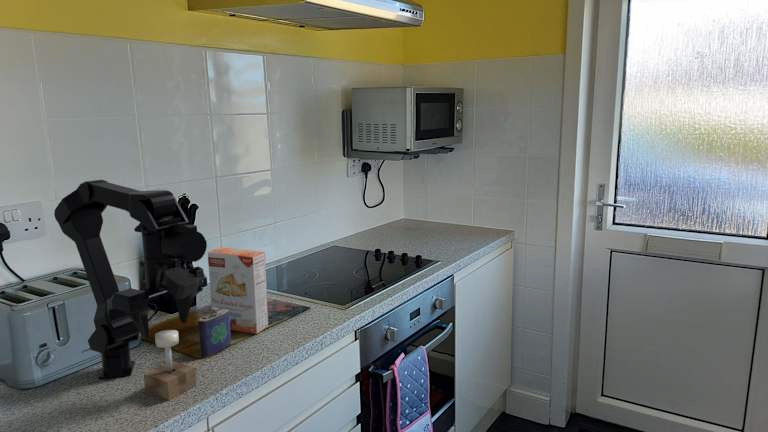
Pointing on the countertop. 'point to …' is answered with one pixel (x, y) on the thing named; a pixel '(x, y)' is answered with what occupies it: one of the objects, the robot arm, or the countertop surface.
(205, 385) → the countertop surface
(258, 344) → the countertop surface
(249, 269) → the cracker box
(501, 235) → the countertop surface
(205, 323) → the flask
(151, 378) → the block
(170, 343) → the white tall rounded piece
